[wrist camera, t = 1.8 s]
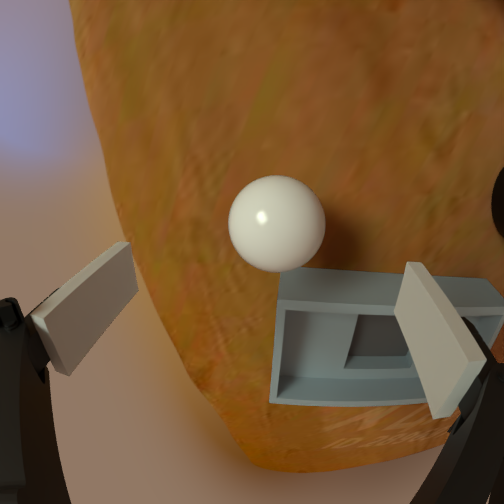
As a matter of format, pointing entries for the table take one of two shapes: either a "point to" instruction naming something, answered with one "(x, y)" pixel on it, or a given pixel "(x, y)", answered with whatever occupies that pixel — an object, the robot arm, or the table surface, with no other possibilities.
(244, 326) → the table surface
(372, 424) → the table surface
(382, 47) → the table surface
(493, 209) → the mug
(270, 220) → the lightbulb
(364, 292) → the socket box
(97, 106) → the table surface
